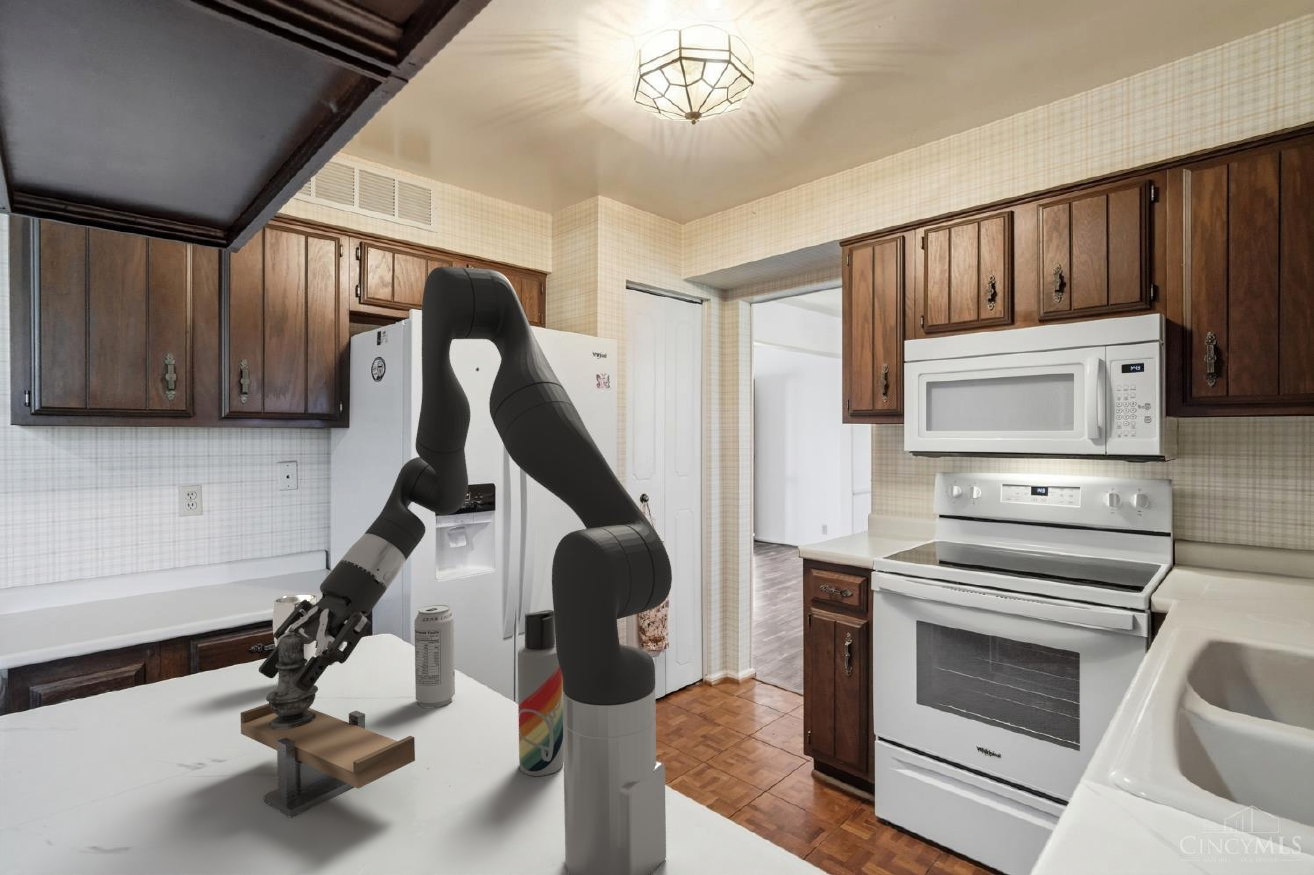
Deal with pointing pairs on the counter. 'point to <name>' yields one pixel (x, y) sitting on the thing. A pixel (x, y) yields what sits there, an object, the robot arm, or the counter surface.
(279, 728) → the dark grey turned piece
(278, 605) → the beer glass
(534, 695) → the lotion bottle
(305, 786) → the pivot stand
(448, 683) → the energy drink can
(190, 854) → the counter surface
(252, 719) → the beam
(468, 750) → the counter surface
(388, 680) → the counter surface
